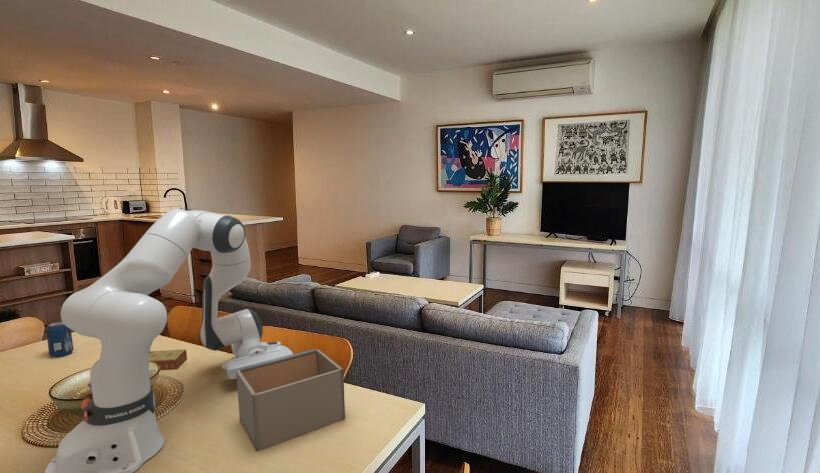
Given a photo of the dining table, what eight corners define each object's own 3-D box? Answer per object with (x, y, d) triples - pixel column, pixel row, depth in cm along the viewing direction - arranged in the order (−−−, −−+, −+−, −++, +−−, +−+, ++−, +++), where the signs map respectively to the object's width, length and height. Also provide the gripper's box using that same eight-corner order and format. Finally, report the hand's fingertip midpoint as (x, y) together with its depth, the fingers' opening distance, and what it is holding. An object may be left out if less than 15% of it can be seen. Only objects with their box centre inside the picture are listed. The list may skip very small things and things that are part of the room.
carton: (177, 370, 143) (176, 358, 142) (126, 373, 142) (125, 361, 141) (187, 359, 151) (186, 348, 151) (140, 362, 150) (138, 350, 149)
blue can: (53, 352, 158) (49, 322, 156) (76, 349, 161) (72, 319, 159) (46, 360, 152) (42, 327, 150) (70, 356, 155) (66, 324, 153)
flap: (244, 417, 112) (241, 368, 110) (243, 415, 113) (240, 367, 111) (318, 393, 124) (316, 349, 122) (316, 392, 125) (314, 348, 123)
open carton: (256, 451, 100) (253, 396, 98) (239, 420, 113) (236, 370, 111) (345, 418, 113) (343, 369, 111) (320, 394, 126) (318, 349, 124)
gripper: (219, 355, 133) (230, 371, 121) (284, 340, 144) (299, 353, 133) (221, 374, 133) (231, 391, 122) (285, 358, 145) (300, 372, 134)
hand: (267, 371), depth 128 cm, fingers closed
